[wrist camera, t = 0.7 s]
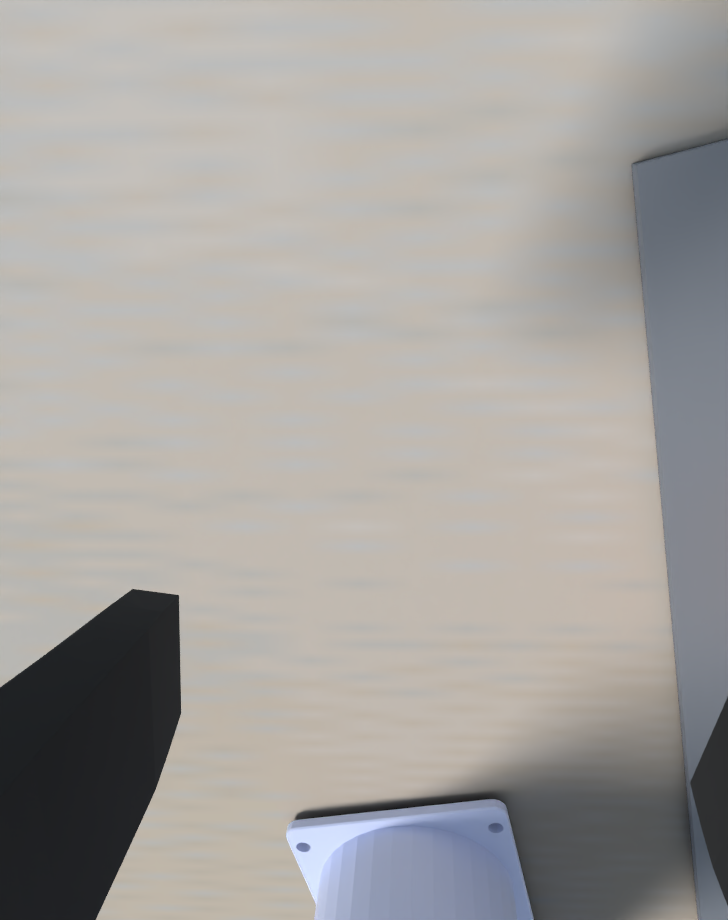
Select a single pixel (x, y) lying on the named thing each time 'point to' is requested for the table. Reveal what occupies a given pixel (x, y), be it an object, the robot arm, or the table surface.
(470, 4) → the table surface
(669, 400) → the felt mat
